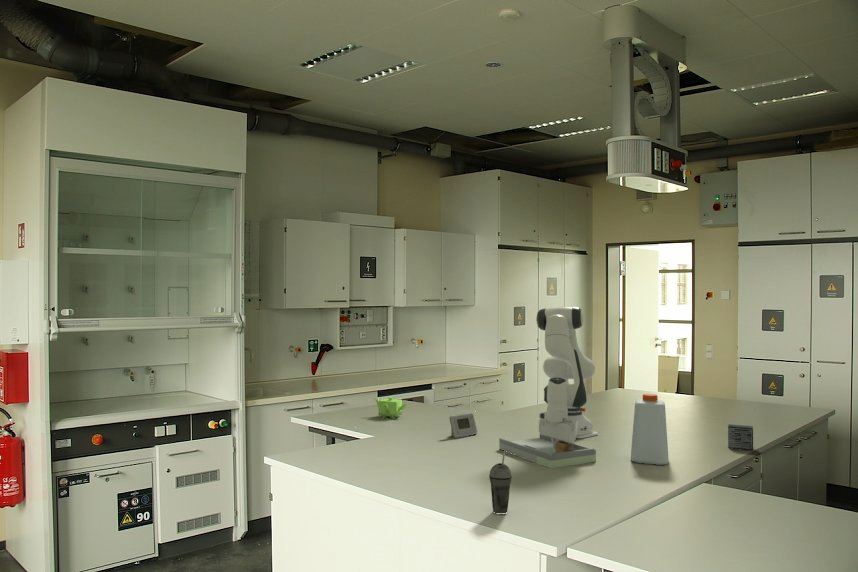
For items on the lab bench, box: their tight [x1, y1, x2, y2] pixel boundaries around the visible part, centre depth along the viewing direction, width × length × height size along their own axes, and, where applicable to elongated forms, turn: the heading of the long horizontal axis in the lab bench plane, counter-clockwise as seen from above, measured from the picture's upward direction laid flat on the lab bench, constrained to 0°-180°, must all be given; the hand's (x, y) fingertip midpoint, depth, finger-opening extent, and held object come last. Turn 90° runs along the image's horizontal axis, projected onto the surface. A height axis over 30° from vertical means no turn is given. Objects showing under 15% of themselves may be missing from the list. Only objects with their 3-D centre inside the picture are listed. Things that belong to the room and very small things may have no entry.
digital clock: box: [449, 412, 478, 439], centre depth 326 cm, size 16×9×11 cm, turn 122°
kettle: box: [373, 396, 408, 420], centre depth 373 cm, size 15×14×11 cm
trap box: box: [498, 433, 597, 469], centre depth 288 cm, size 24×36×6 cm, turn 29°
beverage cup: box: [488, 450, 513, 513], centre depth 211 cm, size 7×7×20 cm
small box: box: [727, 423, 754, 452], centre depth 306 cm, size 11×6×10 cm, turn 65°
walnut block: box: [556, 441, 574, 453], centre depth 277 cm, size 5×5×5 cm
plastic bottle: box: [630, 393, 669, 466], centre depth 281 cm, size 15×15×28 cm
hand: (556, 449), depth 281 cm, fingers closed
